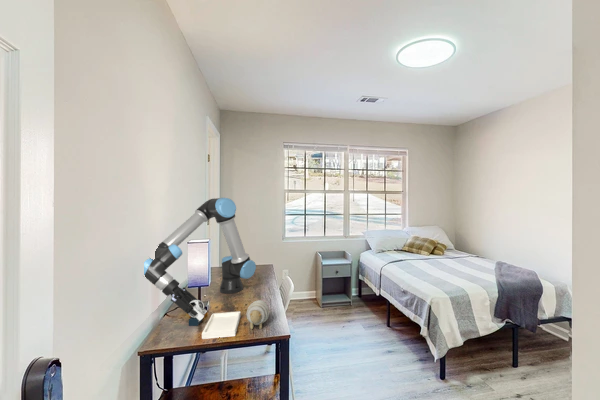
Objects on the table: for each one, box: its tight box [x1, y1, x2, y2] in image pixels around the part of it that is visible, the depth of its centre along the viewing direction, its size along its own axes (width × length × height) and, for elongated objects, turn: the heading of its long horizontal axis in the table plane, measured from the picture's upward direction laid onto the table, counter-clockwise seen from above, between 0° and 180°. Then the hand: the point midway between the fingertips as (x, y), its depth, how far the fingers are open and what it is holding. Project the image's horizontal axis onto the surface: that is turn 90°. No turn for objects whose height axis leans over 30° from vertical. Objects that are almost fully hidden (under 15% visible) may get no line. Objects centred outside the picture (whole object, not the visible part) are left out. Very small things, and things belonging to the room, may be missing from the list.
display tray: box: [201, 310, 242, 340], centre depth 120 cm, size 20×14×2 cm
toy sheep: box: [246, 299, 270, 330], centre depth 121 cm, size 11×17×11 cm, turn 1°
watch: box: [187, 299, 205, 327], centre depth 124 cm, size 6×8×11 cm
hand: (203, 315), depth 124 cm, fingers closed on watch, 5 cm apart
